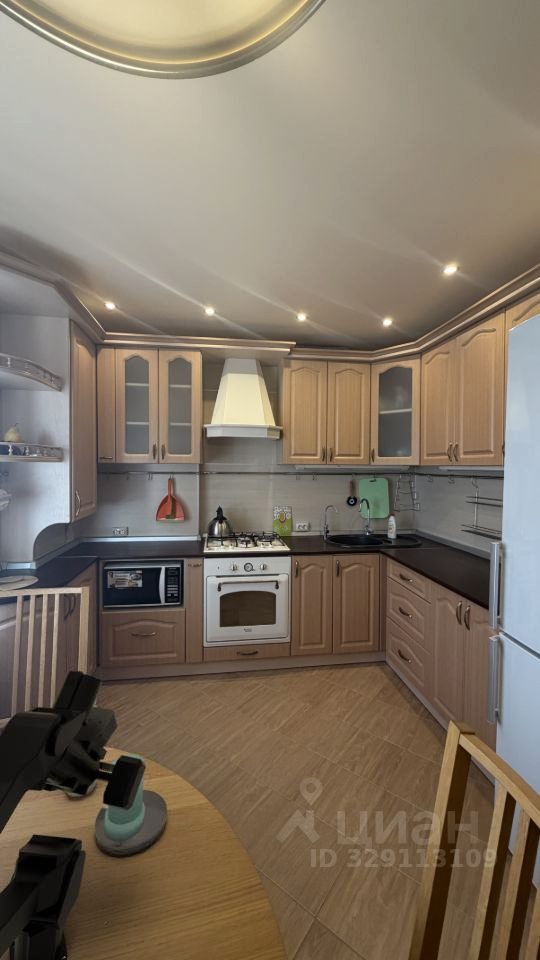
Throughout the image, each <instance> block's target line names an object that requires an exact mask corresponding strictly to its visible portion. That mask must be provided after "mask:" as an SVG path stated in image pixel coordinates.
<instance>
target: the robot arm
mask: <svg viewBox="0 0 540 960" xmlns="http://www.w3.org/2000/svg"><path fill="white" fill-rule="evenodd" d="M102 684H103V681H102V679H100V678H96V677H95V676H91V675H89V674H86V673H84V672H83V671H82V670H81V671H80V670H69V672H68V673H67V674H66V675H65V677H64V679H63V681H62V684H61V686H60V689H59V691H58V693H57V695H56V697H55V699H54V701H53V704H52V706H51V707H43V706H34V707H32V708H31V709H28V710H24V711H20V712H17V713H14V715H13V716H12V717H10V719H9V720H8V722H6V724H5V725H4V727H3V728H2V730H0V835H2V833H3V831H4V829H5V828H6V826H7V824H8V822H9V820H10V819H11V818H12V816H13V814H14V812H15V811H16V809H17V808H18V805H19V804H20V802H21V800H22V799H23V798H24V796H25V794H26V793H27V792H28V791H33V792H34V791H35V792H38V791H39V792H42V791H47V792H53V791H60V792H61V791H62V792H66V793H67V792H69V793H73V794H77V795H81V797H86V795H87V794H86V793H87V790H88V788H89V786H91V785H92V784H93V782H94V781H95V780H97V781H101V782H105V783H107V784H106V786H105V788H104V790H103V791H104V792H103V795H102V804H103V805H108V806H111V807H115V808H119V809H123V810H128V809H130V808H131V807H132V805H133V803H134V800H135V797H136V794H137V791H138V788H139V785H140V783H141V780H142V777H143V774H145V771H146V767H147V766H146V763H145V761H144V762H143V761H142V760H141V759H139V758H134V757H129V756H124V755H125V754H124V755H123V754H121V755H120V756H119V757H118V760H117V761H116V764H115V765H114V764H112V763H110V762H106V761H103V760H105V756H106V755H107V752H108V750H106V748H104V747H106V745H107V744H108V742H109V741H110V738H112V735H113V734H114V732H116V730H117V728H118V723H117V719H116V715H115V712H114V710H113V709H110V708H103V707H98V706H97V707H93V706H94V703H95V701H96V702H97V698H98V695H99V692H100V690H101V687H102ZM110 771H111V772H112V773H110ZM82 845H83V841H82V839H78V838H74V837H63V836H55V835H45V834H44V835H43V834H32V836H31V838H30V839H29V840H28V841H27V843H26V844H25V845H23V846H22V847H20V848H19V851H18V856H17V858H16V862H15V867H14V871H13V873H12V877H11V879H10V880H9V881H10V882H9V883H8V884H7V885H6V886H5V887H4V888H3V889H2V890H1V892H0V959H2V957H3V956H4V954H5V953H6V952H7V951H8V956H9V957H8V958H9V960H62V958H63V957H64V956H65V957H66V958H65V959H63V960H67V958H68V957H69V955H68V950H67V944H66V938H65V933H64V928H63V927H64V924H65V923H66V920H67V918H68V916H69V914H70V913H71V911H72V909H73V908H74V906H75V904H76V901H77V899H78V898H79V895H80V889H81V885H82V879H83V874H84V869H85V863H86V858H87V857H86V855H87V854H86V851H85V849H84V850H82V849H83V848H82V847H83V846H82ZM68 959H69V958H68Z"/></svg>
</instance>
